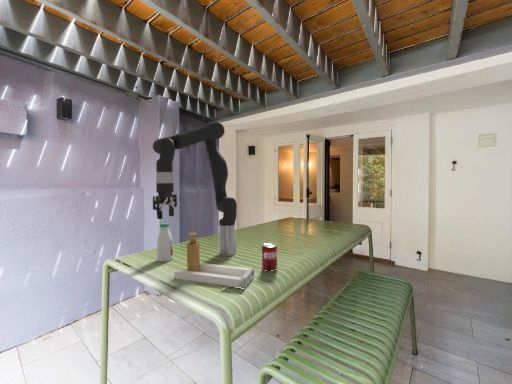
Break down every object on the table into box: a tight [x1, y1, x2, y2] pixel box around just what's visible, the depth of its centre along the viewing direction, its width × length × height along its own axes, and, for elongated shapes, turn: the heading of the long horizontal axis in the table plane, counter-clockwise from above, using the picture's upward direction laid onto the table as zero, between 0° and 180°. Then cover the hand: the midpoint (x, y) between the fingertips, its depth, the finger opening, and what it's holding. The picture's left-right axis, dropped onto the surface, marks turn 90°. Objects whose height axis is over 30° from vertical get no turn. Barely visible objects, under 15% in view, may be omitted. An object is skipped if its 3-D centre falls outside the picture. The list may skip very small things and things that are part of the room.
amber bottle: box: [186, 231, 201, 272], centre depth 108 cm, size 6×6×19 cm
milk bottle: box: [156, 222, 174, 263], centre depth 129 cm, size 8×8×20 cm
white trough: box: [173, 262, 255, 289], centre depth 105 cm, size 32×13×4 cm, turn 73°
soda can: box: [261, 242, 278, 271], centre depth 115 cm, size 7×7×12 cm
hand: (165, 217), depth 111 cm, fingers open, 7 cm apart
